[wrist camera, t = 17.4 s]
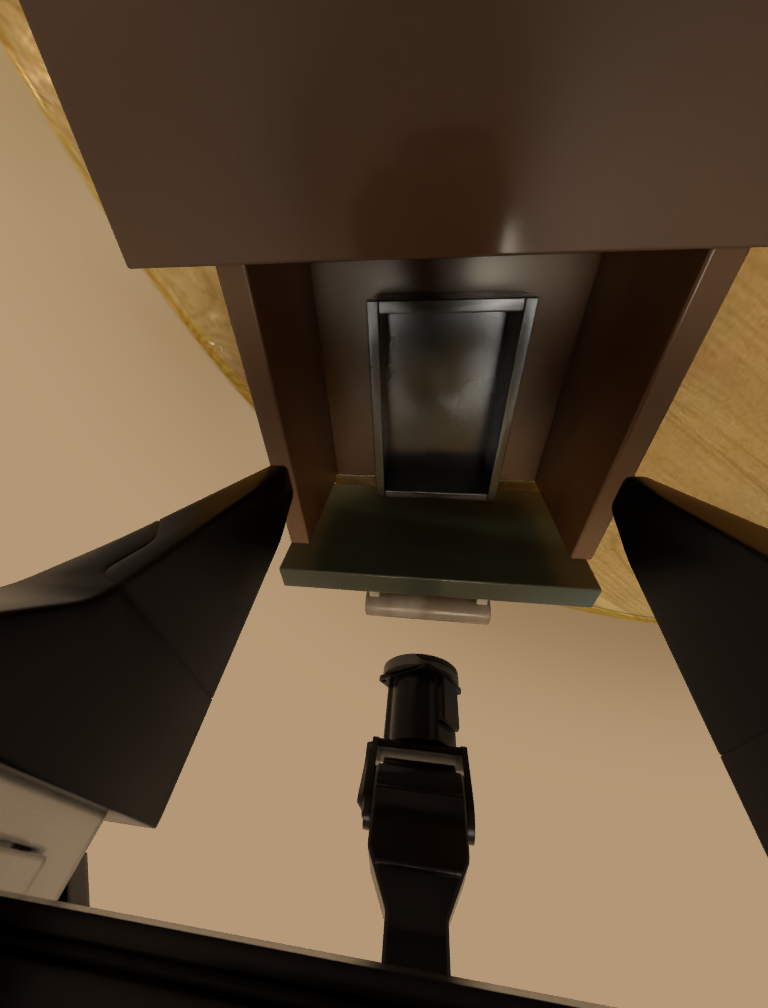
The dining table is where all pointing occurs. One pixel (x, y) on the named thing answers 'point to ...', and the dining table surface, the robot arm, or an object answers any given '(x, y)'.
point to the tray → (445, 389)
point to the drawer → (533, 436)
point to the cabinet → (414, 125)
